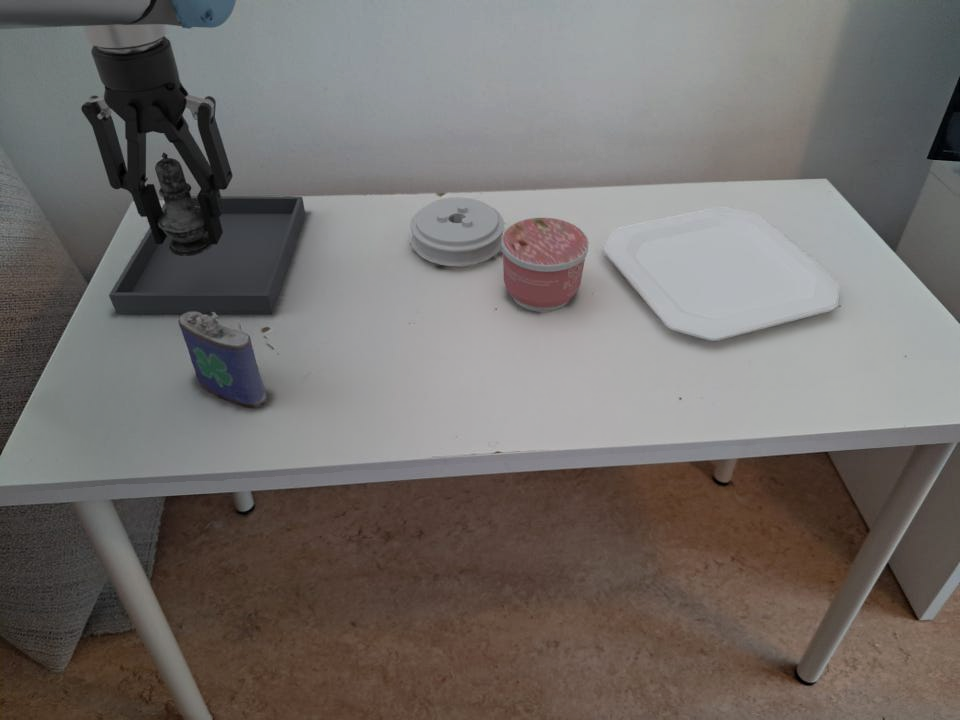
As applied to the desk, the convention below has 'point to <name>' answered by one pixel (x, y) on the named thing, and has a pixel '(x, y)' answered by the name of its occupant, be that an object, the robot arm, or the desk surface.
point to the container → (543, 262)
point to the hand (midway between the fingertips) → (189, 237)
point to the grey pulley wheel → (457, 232)
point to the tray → (217, 263)
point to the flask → (223, 360)
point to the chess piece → (180, 211)
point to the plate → (720, 272)
